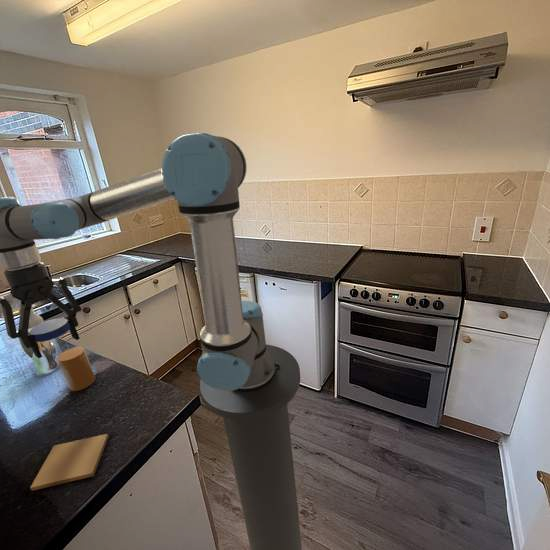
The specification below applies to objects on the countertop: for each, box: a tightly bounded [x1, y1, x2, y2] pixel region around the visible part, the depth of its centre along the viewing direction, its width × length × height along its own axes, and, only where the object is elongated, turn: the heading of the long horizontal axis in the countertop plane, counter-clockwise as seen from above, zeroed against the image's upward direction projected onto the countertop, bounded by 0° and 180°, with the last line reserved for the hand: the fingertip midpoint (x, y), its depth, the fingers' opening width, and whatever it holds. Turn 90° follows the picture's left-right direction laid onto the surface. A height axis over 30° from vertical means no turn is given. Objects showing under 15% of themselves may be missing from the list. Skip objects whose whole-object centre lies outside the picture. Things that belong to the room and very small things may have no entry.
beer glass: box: [18, 327, 59, 377], centre depth 97 cm, size 7×7×15 cm
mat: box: [29, 433, 110, 491], centre depth 67 cm, size 12×10×1 cm
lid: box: [29, 317, 71, 342], centre depth 76 cm, size 8×8×2 cm
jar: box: [56, 346, 97, 392], centre depth 90 cm, size 7×7×11 cm
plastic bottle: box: [18, 307, 57, 357], centre depth 103 cm, size 6×7×20 cm
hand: (58, 346), depth 78 cm, fingers closed on lid, 8 cm apart
